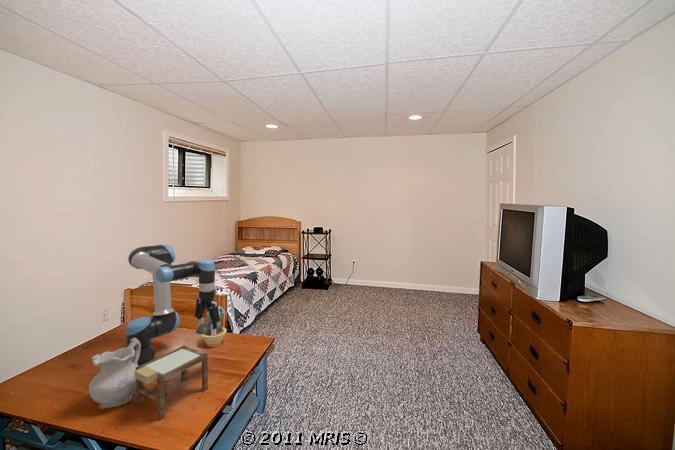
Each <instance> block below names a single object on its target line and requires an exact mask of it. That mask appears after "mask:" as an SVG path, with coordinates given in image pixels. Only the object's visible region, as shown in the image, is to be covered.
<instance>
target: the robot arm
mask: <svg viewBox="0 0 675 450" xmlns="http://www.w3.org/2000/svg"><path fill="white" fill-rule="evenodd" d="M172 247H173V246H171V245H170V244H155V245H147V246H140V247H136V248H135V249H133V250H132V251H131V252H130V253H129V255H128V258H127V261H128V264H129V265H130V266H131V267H132V268H134V269H137V270H144V271H145V272H148V273H150V274H152V287H153V300H154V301H153V303H154V311H153V312H152V315H151V316H152V317H149V316H143V317H142V316H141V317H138V318H135V319H133V320H131V321H129V322H128V323H127V324H126V326H125V342H126V344H125V345H126V347H125V348H127V347H128V346H129V344H130V339H132V338H134V337H135V338H137V340H139V341H140V343H141V350H140V356H139V359H138V362H137V364H138V366H140V365H142V364H145V363H147V362H149V361H151V360H153V359H156V351H155V350H154V348H153V346H152V340H153V339H155V338H159V337H162V336H164V335H167V334H168V335H169V334H171V333H173V332H175V331H176V330H177V329H178V328H179V326H180V316H179V313H178V312H177V311H176V310H175V308H173V307H172V297H171V295H172V294H171V283H170V282H173V281H179V280H183V279H188V278H192V277H193V278H194V277H196V278H198V299H197V298H196V301H195V302H196V306H195V311H194V317H195V318H196V319H197V329H198V328H199V326H200V325H201V324H203V323H205V318H204V314H205V311H206V310H207V312H209V315H210V318H211V321H212V323H211V336H213V335H215V334H216V328H217V322H219V321H220V317H219V311H218V306H219V303H218V302H219V301H217V302H215V301H214V298H215V296H216V290H215V289H216V282H215V281H216V280H215V279H216V274H215V273H216V266H215V265H216V264H215V261H214V260H213V259H201V260H199V261H196V260H190V261H187V262H186V263H180V264H173V263H174V262H175V260H176V253H175V250H174V248H172ZM211 307H212V308H211ZM220 322H221V321H220ZM133 349H134V350H135V352H136V347H135V346H134V348H133ZM134 356H135V354H134ZM133 361H134V357H133V360H132V362H133Z"/></svg>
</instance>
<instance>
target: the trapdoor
mask: <svg viewBox="0 0 675 450" xmlns="http://www.w3.org/2000/svg"><path fill="white" fill-rule="evenodd" d="M199 356H201V355H198V354H196V353H193V352H190V351H188V350H185V349H180V350H178V351H176V352H174V353H172V354H170V355H167V356H165V357H163V358H161V359H159V360H156V361H154V362H152V363H150V364H148V365H146V366H143V367H142V368H140V369H138V370H136V371H135V378H136V379H138V380H140V381H142V382H143V383H144V384H146V385H148V384H150V383H152V382H154V381H157V378H158V377H160V376H162V375H164V374H166V373H168V372H170V371H172V370H174V369H175V368H177V367H179V366H181V365H183V364H185V363H187V362H189V361H191V360H193V359H195V358H197V357H199Z"/></svg>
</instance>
